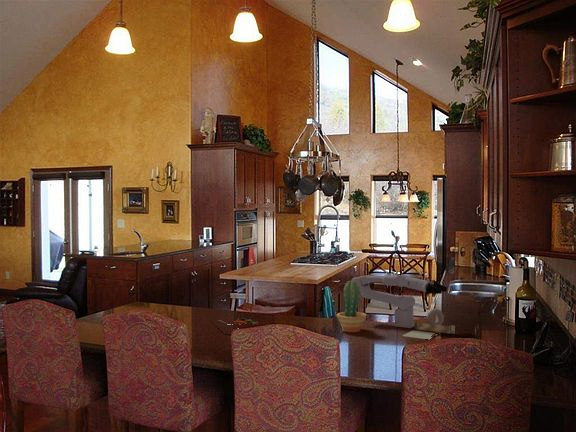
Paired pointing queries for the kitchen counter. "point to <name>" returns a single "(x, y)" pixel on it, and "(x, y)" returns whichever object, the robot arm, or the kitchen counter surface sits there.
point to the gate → (433, 327)
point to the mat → (419, 334)
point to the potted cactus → (351, 309)
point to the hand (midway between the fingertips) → (444, 290)
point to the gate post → (452, 329)
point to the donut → (432, 313)
